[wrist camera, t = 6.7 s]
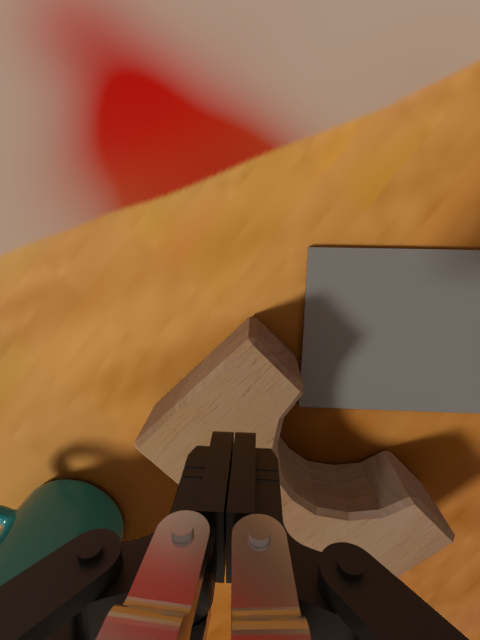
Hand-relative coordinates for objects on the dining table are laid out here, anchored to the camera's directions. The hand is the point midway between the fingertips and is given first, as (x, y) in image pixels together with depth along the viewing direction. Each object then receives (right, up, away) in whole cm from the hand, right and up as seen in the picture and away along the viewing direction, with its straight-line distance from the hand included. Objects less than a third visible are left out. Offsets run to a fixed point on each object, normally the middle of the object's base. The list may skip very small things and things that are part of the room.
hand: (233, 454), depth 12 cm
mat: (+13, +4, +13) cm, 19 cm away
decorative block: (-3, +1, +12) cm, 12 cm away
